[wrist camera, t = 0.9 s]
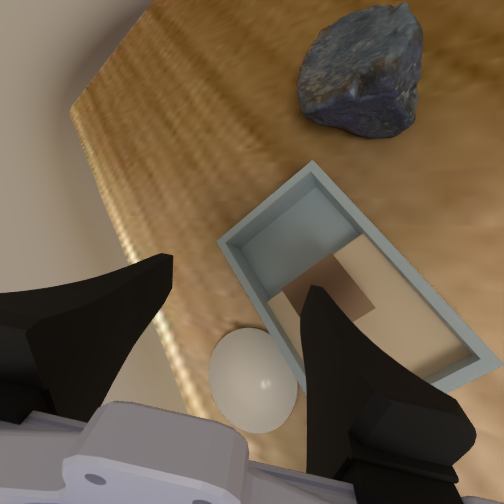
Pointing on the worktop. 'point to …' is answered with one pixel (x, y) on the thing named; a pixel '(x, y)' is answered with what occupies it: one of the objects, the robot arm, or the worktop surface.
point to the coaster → (252, 381)
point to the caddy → (361, 271)
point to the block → (329, 288)
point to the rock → (364, 72)
